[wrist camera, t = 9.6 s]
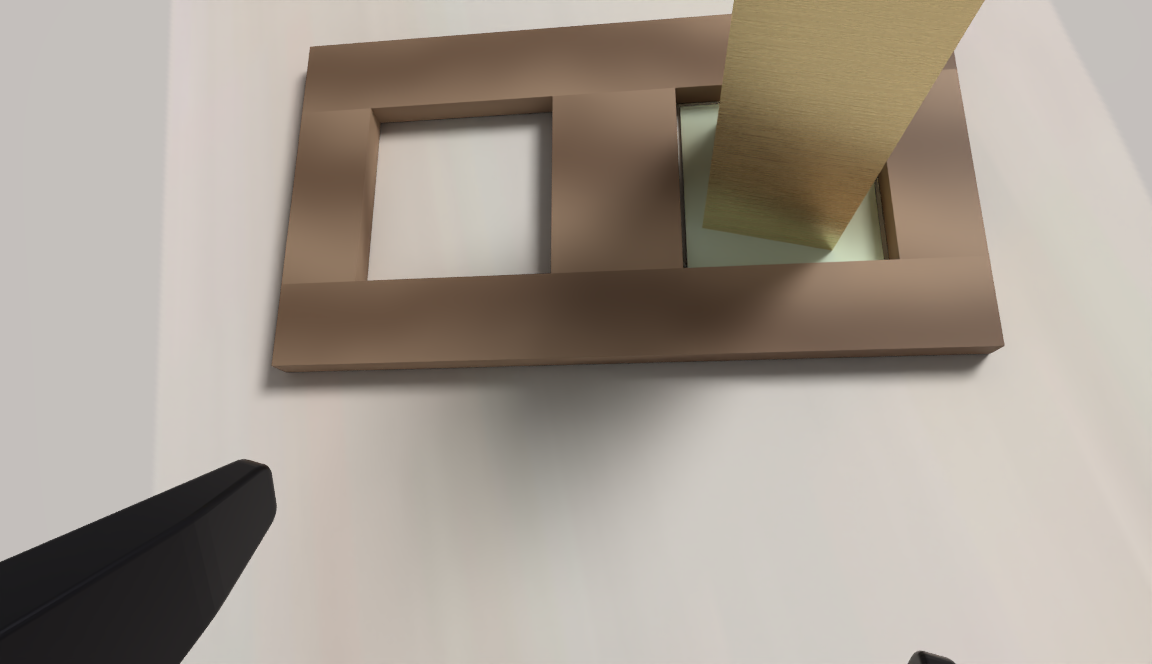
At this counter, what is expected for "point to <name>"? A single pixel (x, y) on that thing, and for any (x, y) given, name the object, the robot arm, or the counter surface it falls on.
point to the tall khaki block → (819, 108)
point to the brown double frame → (619, 219)
